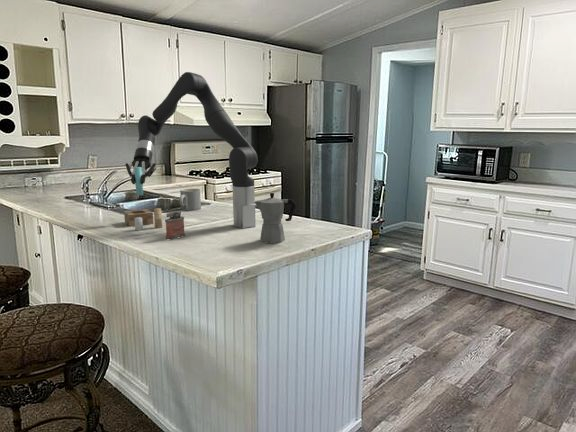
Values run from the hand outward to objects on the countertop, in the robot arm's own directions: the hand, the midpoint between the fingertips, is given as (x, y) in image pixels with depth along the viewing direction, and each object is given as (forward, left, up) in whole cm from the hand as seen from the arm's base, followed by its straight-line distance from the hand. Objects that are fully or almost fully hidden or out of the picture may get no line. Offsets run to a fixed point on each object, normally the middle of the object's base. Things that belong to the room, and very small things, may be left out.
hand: (137, 183), depth 185 cm
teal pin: (+2, -1, -5) cm, 6 cm away
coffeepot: (-56, -36, -18) cm, 69 cm away
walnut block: (+2, 0, -18) cm, 18 cm away
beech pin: (-11, -5, -18) cm, 22 cm away
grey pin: (-11, +3, -18) cm, 21 cm away
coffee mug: (+20, -29, -18) cm, 40 cm away
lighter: (-31, -6, -18) cm, 36 cm away
